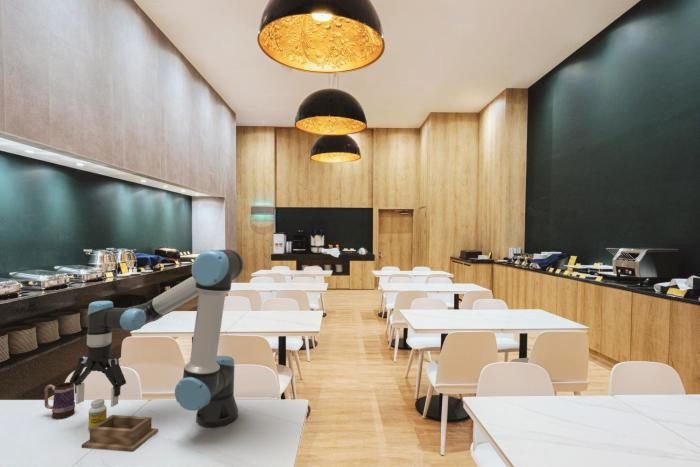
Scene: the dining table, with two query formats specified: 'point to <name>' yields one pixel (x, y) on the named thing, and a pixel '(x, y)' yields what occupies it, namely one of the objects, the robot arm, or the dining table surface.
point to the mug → (61, 400)
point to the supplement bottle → (97, 412)
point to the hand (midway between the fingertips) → (97, 403)
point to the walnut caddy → (120, 433)
